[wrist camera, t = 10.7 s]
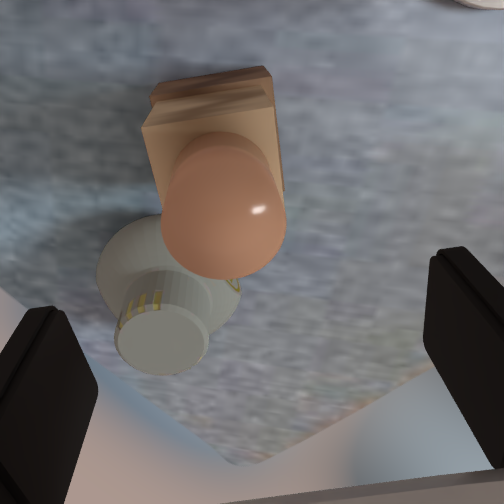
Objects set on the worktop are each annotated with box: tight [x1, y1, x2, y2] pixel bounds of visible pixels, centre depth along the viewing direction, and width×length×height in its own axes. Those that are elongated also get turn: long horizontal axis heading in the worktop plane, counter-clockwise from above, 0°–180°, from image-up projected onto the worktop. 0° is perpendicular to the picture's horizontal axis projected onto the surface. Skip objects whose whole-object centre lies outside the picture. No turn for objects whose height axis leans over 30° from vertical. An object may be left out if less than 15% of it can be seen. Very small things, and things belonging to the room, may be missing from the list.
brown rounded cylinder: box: [161, 131, 286, 280], centre depth 19 cm, size 5×5×5 cm
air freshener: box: [96, 214, 242, 376], centre depth 31 cm, size 11×8×10 cm
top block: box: [141, 85, 285, 210], centre depth 23 cm, size 6×6×6 cm
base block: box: [149, 66, 285, 191], centre depth 28 cm, size 7×7×5 cm
